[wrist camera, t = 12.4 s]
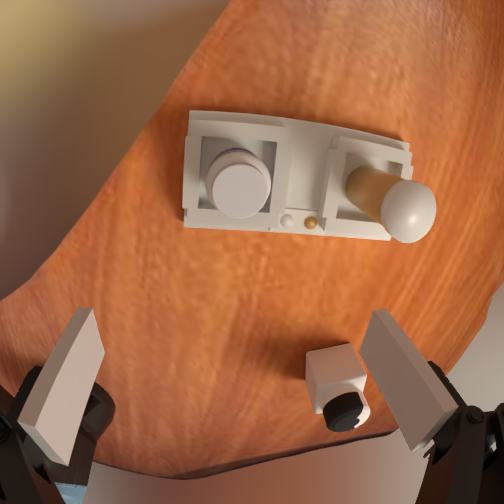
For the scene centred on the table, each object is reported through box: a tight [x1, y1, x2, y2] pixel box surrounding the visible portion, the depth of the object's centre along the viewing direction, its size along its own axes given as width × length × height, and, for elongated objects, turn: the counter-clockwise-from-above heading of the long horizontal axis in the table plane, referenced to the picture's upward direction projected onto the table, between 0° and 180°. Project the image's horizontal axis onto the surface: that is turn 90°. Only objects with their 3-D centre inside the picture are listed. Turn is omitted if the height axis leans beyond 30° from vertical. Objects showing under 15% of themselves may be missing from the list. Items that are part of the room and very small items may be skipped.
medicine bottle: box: [305, 343, 370, 432], centre depth 37 cm, size 7×7×12 cm
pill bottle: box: [205, 148, 271, 219], centre depth 24 cm, size 5×5×9 cm
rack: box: [182, 110, 436, 243], centre depth 25 cm, size 24×12×11 cm, turn 84°
